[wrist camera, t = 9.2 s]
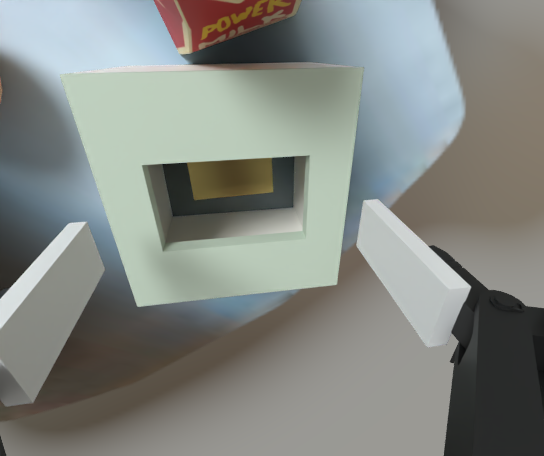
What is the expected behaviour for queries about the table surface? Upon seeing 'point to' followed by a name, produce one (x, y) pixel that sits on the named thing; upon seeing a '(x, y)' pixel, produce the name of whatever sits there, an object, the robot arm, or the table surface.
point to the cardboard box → (230, 178)
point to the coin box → (215, 147)
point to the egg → (0, 90)
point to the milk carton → (219, 19)
